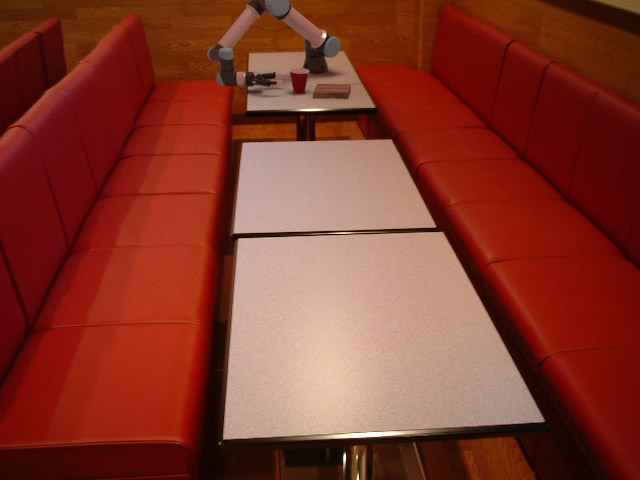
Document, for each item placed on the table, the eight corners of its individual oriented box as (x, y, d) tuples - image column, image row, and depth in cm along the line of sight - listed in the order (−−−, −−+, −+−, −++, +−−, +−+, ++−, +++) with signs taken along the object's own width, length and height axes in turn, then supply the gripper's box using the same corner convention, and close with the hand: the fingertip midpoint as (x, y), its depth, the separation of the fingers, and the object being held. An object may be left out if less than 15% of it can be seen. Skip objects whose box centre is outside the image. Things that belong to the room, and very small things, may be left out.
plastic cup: (309, 95, 333) (309, 72, 327) (289, 95, 333) (288, 72, 328) (310, 89, 343) (309, 67, 337) (290, 89, 343) (289, 67, 337)
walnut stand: (317, 89, 343) (317, 83, 342) (350, 89, 341) (350, 84, 340) (313, 98, 327) (312, 92, 326) (347, 98, 325) (347, 93, 324)
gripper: (251, 80, 350) (289, 80, 348) (241, 92, 329) (281, 92, 326) (250, 66, 347) (289, 66, 344) (240, 77, 325) (280, 78, 323)
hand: (285, 79), depth 335 cm, fingers open, 13 cm apart
